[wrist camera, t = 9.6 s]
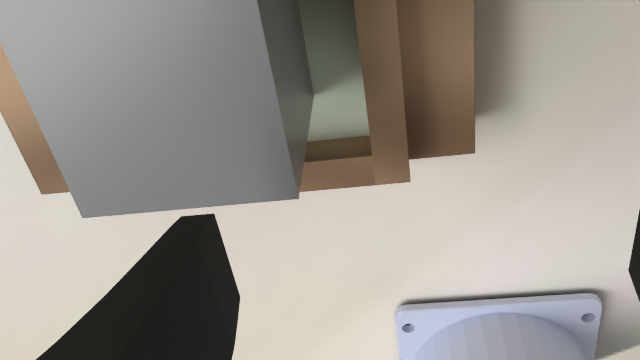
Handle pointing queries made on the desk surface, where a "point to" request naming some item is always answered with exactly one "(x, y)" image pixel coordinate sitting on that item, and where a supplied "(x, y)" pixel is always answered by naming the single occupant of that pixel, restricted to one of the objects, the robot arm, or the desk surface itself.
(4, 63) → the stand
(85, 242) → the desk surface
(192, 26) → the housing
